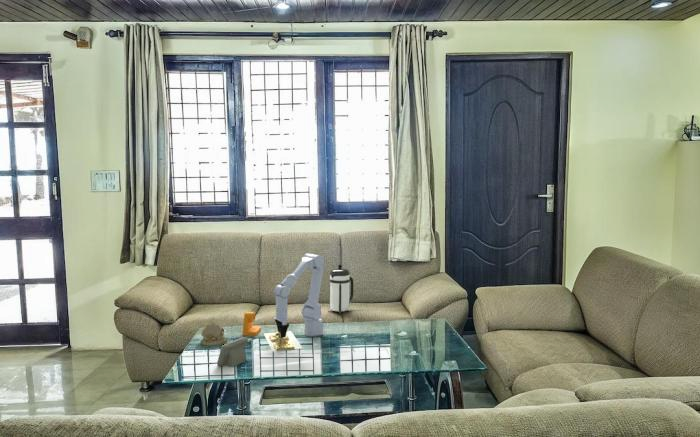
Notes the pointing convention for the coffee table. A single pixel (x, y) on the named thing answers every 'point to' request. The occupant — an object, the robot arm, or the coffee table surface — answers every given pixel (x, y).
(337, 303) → the coffee press
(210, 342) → the ceramic model
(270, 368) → the coffee table surface
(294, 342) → the board
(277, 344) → the fixed leaf
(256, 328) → the bracket
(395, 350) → the coffee table surface
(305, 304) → the robot arm
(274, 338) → the loose leaf
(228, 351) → the digital clock
